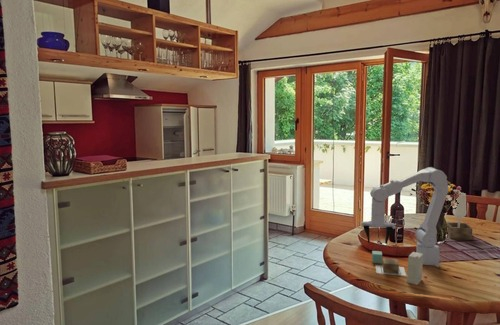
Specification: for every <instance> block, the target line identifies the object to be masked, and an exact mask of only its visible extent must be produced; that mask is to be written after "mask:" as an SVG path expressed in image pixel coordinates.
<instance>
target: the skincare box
mask: <svg viewBox="0 0 500 325" xmlns="http://www.w3.org/2000/svg"><path fill="white" fill-rule="evenodd" d="M407 260H408V261H407V273H406V283H409V284H413V285H416V286H418V285H419V283H421V282H422V280H423V279H422V278H423V267H424V266H423V254H422V253H417V252H415V251H412V252H411V253H410V254H409V255H408V259H407Z"/></svg>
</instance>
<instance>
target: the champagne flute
mask: <svg viewBox="0 0 500 325" xmlns="http://www.w3.org/2000/svg"><path fill="white" fill-rule="evenodd" d="M460 193H461V195H460V196H459V197H458V198H457V199H456V200H457V202H458V203H459V204H458V206H457V208H456V209H453V208H452V214H453V216H454V217H455V218H456V219H457V223H458V228H460V223H461V220H462V219H464V217H467V212H468V211H467V194H466V193H464V192H460Z"/></svg>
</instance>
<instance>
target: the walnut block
mask: <svg viewBox="0 0 500 325" xmlns="http://www.w3.org/2000/svg"><path fill="white" fill-rule="evenodd" d="M382 265H383V271H384V272H386V273H397V274H399V267H400V266H399V265H400V264H399V260H398V258H385V257H382Z"/></svg>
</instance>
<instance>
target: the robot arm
mask: <svg viewBox="0 0 500 325" xmlns="http://www.w3.org/2000/svg"><path fill="white" fill-rule="evenodd" d="M447 179H448V176H447V174H445V172H444V171H443V170H440V169H436V168H435V167H433V166H429V167H426V168H423V169H420V170H419V171H417V172H415V173H413V174H411V175H409V176H407V177H405V178H403V179H400V180H397V179H391V180H389V182H387V183H385V184H380V185H379V186H375V187H373V188H372V189H371V191H370V193H369V194H370V197H371V213H370V214H371V215H370V216H371V217H370V218H371V220H369V221H361V222H360V226H361V227H362V228H363V230H364V233H365V236H366V238H367V243H368V244H369V243H370V228H383V229H384V228H385V238H384V243H385V244H388V242H389V238H390V235H391V233H393V230H394V229H395V228H396V224H395V223H393V222H387V221H385V216H386V215H385V214H386V212H385V211H386V204H385V202H386V200H387V198H389V197H391V196H394V195H396V194H399V193H401V192H402V191H403V188H405V187H409V186H411V185H414V184H416V183H419V182H422V183H423V182H425V183H429V184H430V185H431V187H432V188H433V193H432V196H431V198H430V201H429V206H428V208H427V211H426V214H425V216H424V220H423V222H422V223H420V225H419V227H418V228H417V229H416V231H415V234H414V235H415V238H416V239H417V241H416V250H415V251H416V252H417V253H422V254H423V265H425V266H435V267H436V268H440V255H441V254H440V253H441V252H440V246H439V245H436V244H437V239H438V238H437V234H438V231H437V224H438V222H439V219H440V215H441V213H442V210H443V208H444V204H445V201H446V198H447V195H448V193H449V184H448V180H447Z"/></svg>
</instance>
